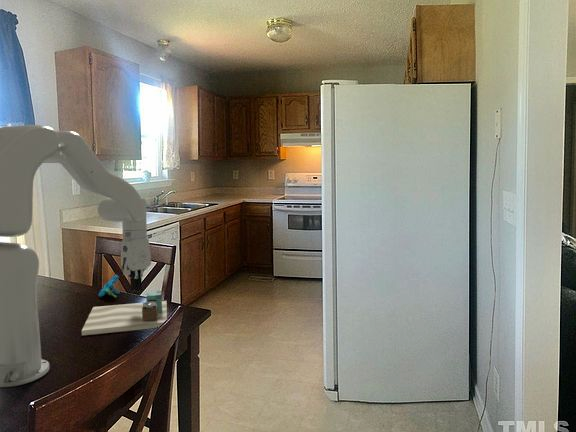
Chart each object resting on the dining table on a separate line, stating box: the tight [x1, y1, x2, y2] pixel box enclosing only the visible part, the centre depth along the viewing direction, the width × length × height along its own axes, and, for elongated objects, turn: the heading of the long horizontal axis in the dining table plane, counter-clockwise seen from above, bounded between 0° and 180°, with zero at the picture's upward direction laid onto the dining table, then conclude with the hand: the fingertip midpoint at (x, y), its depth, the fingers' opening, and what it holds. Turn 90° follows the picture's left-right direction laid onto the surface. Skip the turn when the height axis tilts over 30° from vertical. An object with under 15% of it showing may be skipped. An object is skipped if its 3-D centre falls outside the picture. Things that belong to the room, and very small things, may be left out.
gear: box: [98, 274, 121, 299], centre depth 167 cm, size 11×6×10 cm
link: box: [142, 299, 158, 321], centre depth 143 cm, size 18×4×4 cm, turn 14°
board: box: [81, 300, 168, 336], centre depth 141 cm, size 22×24×2 cm
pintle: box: [142, 301, 156, 309], centre depth 136 cm, size 4×4×5 cm
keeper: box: [146, 290, 163, 313], centre depth 144 cm, size 5×4×6 cm
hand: (136, 289), depth 145 cm, fingers closed
